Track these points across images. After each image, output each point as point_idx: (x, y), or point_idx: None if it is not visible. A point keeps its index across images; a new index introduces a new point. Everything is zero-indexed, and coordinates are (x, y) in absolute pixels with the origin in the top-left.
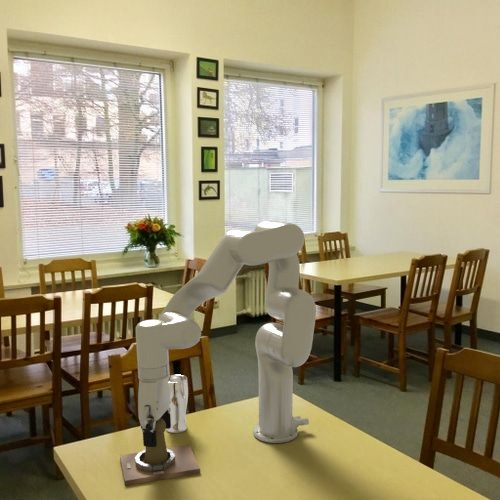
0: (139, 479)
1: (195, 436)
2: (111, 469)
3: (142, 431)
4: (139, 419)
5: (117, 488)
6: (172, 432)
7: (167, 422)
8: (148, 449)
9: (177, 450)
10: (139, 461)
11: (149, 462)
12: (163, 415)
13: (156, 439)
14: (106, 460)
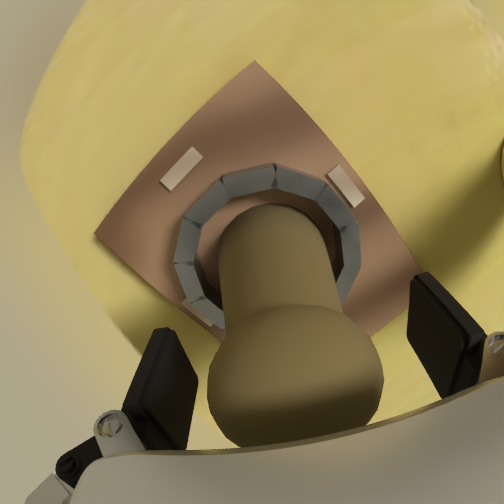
0: (135, 268)
1: (491, 247)
2: (164, 89)
3: (102, 417)
4: (88, 466)
5: (79, 214)
6: (502, 164)
7: (422, 354)
8: (223, 288)
9: (387, 275)
10: (195, 228)
11: (218, 266)
12: (449, 368)
13: (190, 410)
14: (220, 18)
